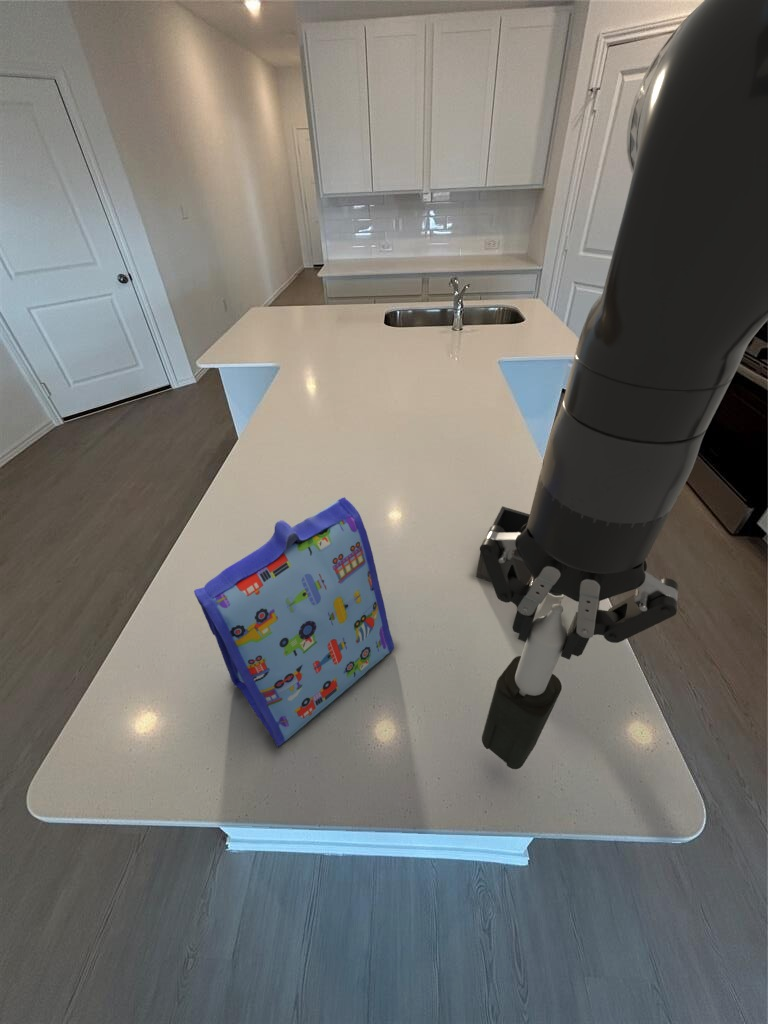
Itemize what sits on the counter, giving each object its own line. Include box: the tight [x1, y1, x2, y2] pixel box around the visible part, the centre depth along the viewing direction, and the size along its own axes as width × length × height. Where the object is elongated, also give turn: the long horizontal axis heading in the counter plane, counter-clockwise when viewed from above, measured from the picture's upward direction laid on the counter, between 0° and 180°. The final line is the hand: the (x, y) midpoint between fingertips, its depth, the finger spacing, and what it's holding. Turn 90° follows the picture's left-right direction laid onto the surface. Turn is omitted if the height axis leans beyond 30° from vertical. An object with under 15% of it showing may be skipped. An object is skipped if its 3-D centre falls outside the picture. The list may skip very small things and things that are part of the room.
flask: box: [532, 592, 565, 625], centre depth 69 cm, size 7×7×10 cm
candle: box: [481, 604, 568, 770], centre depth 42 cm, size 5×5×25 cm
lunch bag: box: [193, 497, 395, 747], centre depth 59 cm, size 22×14×29 cm, turn 133°
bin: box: [475, 505, 532, 584], centre depth 80 cm, size 12×12×8 cm
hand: (545, 640), depth 37 cm, fingers closed on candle, 3 cm apart
